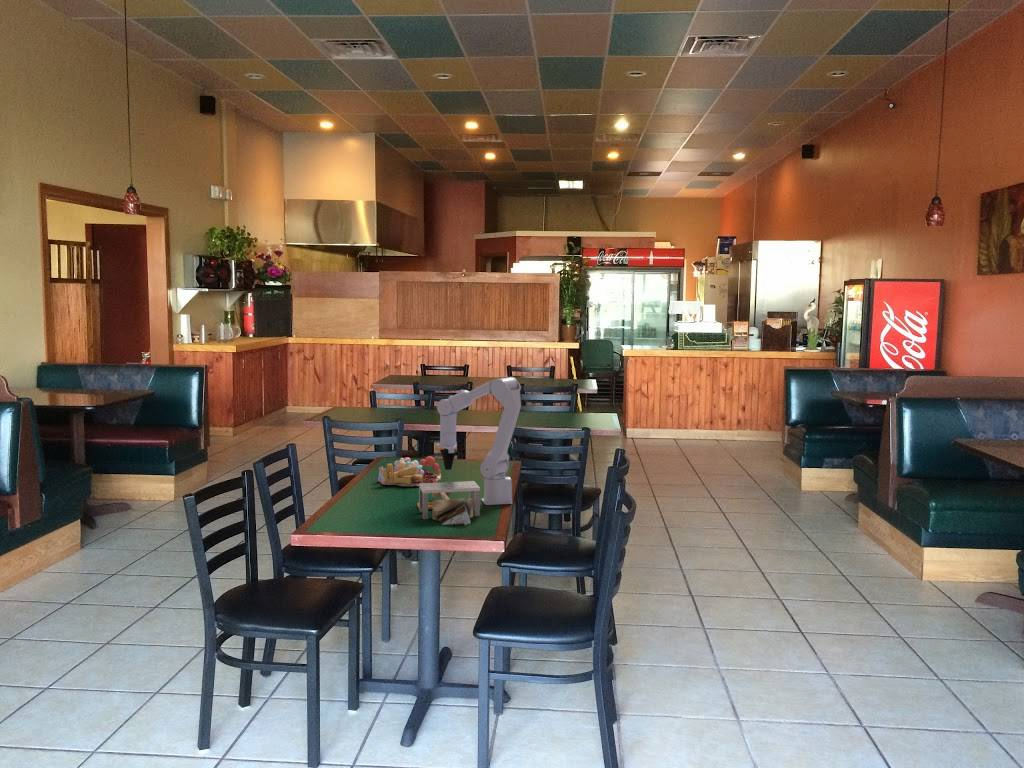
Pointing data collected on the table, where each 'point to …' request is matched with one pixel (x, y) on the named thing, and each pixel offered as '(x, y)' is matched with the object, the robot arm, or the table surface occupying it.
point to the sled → (447, 502)
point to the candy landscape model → (409, 472)
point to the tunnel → (448, 487)
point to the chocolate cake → (455, 514)
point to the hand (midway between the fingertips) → (448, 469)
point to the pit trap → (430, 505)
